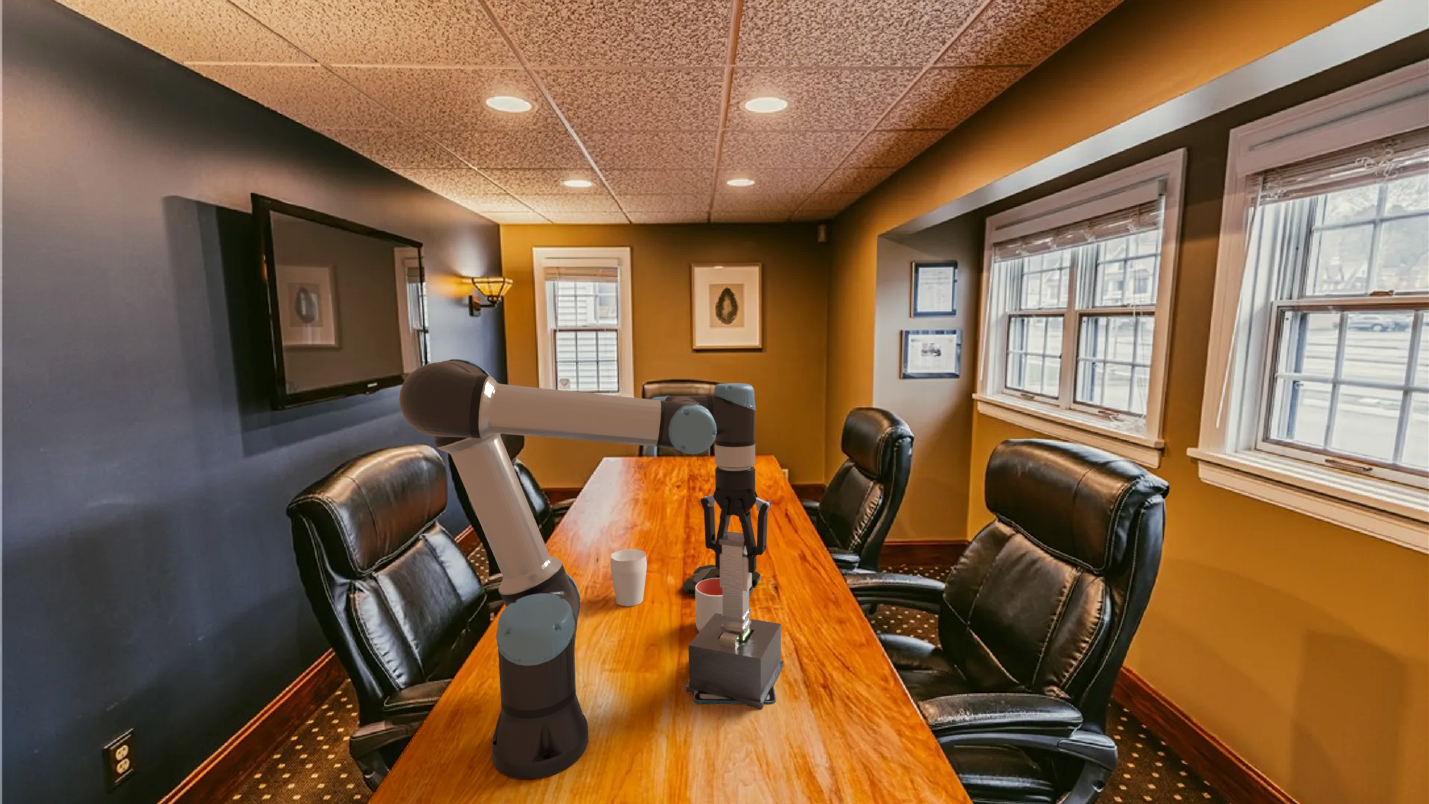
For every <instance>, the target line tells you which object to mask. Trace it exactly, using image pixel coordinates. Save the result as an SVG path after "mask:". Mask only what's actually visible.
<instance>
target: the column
mask: <svg viewBox="0 0 1429 804" xmlns="http://www.w3.org/2000/svg"><path fill="white" fill-rule="evenodd" d="M719 544H720V545H722V590H723V614H722V615H721V620H723V624H722V625H721V630H723V633H730V634H736V635H739V642H740V643H745V644H746V642H747V641H748V639H749V635H750V634H751V629H749V625H750V624H751V619H752V618H750V615H751V614H752V609H751V608H750V597H749V590H748V591H744V559H743V557H744V556H745V555H746V554H747V550H746V540H744V536H743V532H737V531H736V532H735V531H728V532H727V534H726V535H725V536H724V537H721V538H720V539H719Z"/></svg>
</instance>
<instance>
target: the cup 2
mask: <svg viewBox="0 0 1429 804" xmlns="http://www.w3.org/2000/svg"><path fill="white" fill-rule="evenodd" d="M694 596H695V597H694V598H695V607H694V609H695V627H696V629H697V631H698V632H700V631H701V630H702V628H703V627H704V626H705V625H706V624H707V622H708V621H709V620H710V619H711V618H712V616H713V615H714V614H715V613H718V614H723V590H722V587H720V578H711V579H706V580H703V581H701V582H699V583H698V584H697V585H696V586H695V595H694Z"/></svg>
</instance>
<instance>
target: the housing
mask: <svg viewBox="0 0 1429 804" xmlns="http://www.w3.org/2000/svg"><path fill="white" fill-rule="evenodd" d="M721 615H722V614H718V613H715V614H714V615H713V616H712V618H711V619H710V620H709V621H708V622H707V624H706V625H705V626H704V627H703V628H702V630H701V631H698V633H697V634H696V636H695V637H694V638H693V639H692V640H691V641H690V643H689V644H688V645H687V646H688V683H687V684H686V685H685V692H686V693H688V694H689V693H690V694H694V690H695V691H699V692H703V693H707V694H711V695H716V696H720V697H724V698H728V699H732V700H736V701H741V704H740V705H744V706H748V707H749V706H750V707H754V708H758V709H764V707H765V705H766V704H765V701H766V699H767V697H768V695H769V693H770V691H771V689H772V687H773V685H774V686H775V684H776V683H777V680H778V678H779V676H780V675H781V672H782V671H783V669H784V666H785V661H784V660H782V653H781V652H782V648H781V647H782V628H781V627H782V624H781V623H779V622H773V621H767V620H766V621H765V620H759V619H754V618H750V619H751V624H750V625H749V629H751V634H750V635H749V639H748V641H747V642H746V644H745V643H740V642H739V635H736V634H730V633H723V630H721V625H722V624H723V620H721Z"/></svg>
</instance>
